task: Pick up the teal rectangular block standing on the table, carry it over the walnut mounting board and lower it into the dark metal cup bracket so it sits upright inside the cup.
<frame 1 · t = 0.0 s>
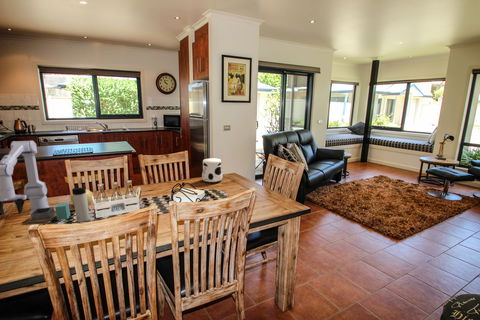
hand: (11, 214, 128), 10 cm above the table, tool pointing down, fingers open, 7 cm apart
milk container: (212, 181, 216), on the table
travel mug: (83, 221, 143), on the table
cup bracket: (42, 213, 146), on the mounting board, point 3 cm above the table
teal rectangular block: (64, 217, 147), on the table
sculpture: (83, 204, 166), on the table
mounting board: (43, 218, 147), on the table
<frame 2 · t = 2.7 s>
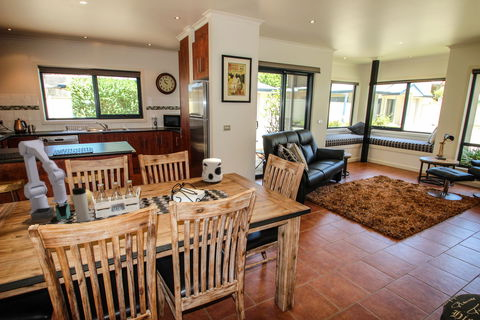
hand: (63, 213, 146), 2 cm above the table, tool pointing down, fingers closed on teal rectangular block, 6 cm apart
teal rectangular block: (64, 217, 147), on the table, touching gripper
everything else where it was.
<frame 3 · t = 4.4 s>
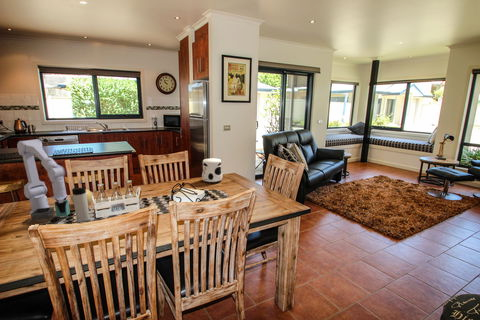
hand: (62, 210, 146), 4 cm above the table, tool pointing down, fingers closed on teal rectangular block, 6 cm apart
teal rectangular block: (63, 214, 147), point 2 cm above the table, touching gripper
everything else where it was.
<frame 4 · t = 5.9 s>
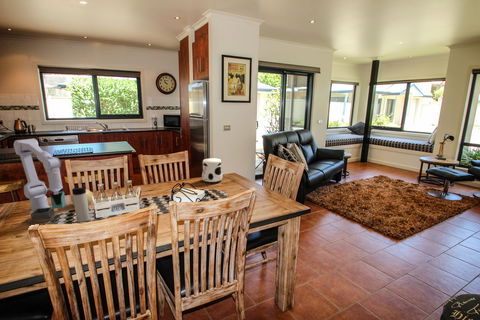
hand: (58, 202, 145), 9 cm above the table, tool pointing down, fingers closed on teal rectangular block, 6 cm apart
teal rectangular block: (59, 206, 145), point 7 cm above the table, touching gripper
everything else where it was.
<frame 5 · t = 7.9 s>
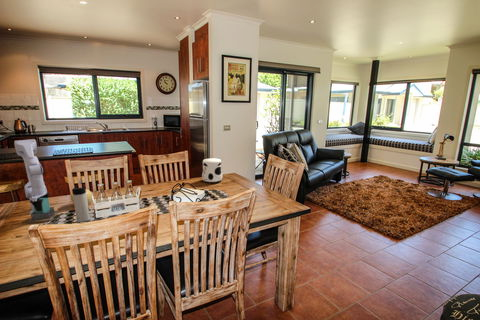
hand: (42, 208, 145), 6 cm above the table, tool pointing down, fingers closed on teal rectangular block, 6 cm apart
teal rectangular block: (42, 212, 146), point 3 cm above the table, touching gripper
everything else where it was.
when the fingers open (6 cm above the table, at t = 9.3 s): teal rectangular block drops 1 cm, resting on cup bracket.
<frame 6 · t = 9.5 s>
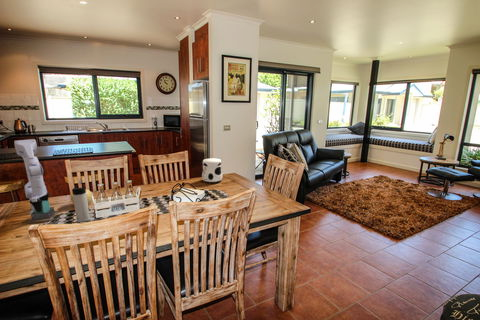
hand: (42, 209, 145), 6 cm above the table, tool pointing down, fingers open, 7 cm apart
teal rectangular block: (43, 215, 146), point 2 cm above the table, touching cup bracket
everything else where it was.
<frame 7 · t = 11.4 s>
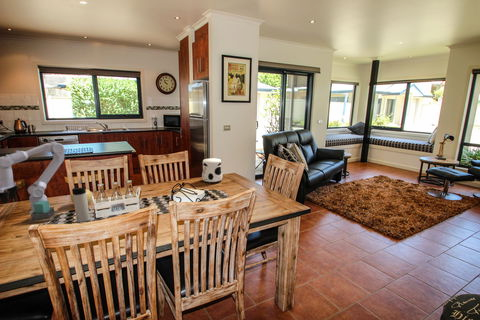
hand: (9, 201, 145), 10 cm above the table, tool pointing down, fingers open, 7 cm apart
nothing on the table moved.
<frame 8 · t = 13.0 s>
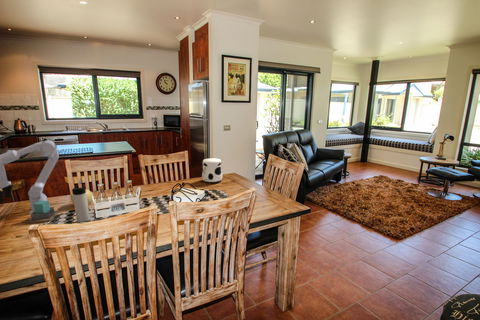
hand: (4, 200, 147), 10 cm above the table, tool pointing down, fingers open, 7 cm apart
nothing on the table moved.
at the end: teal rectangular block 0.0 cm off-centre on the cup bracket, point 1.6 cm above the cup bracket's base; teal rectangular block tilted 0°; the gripper is holding nothing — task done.
